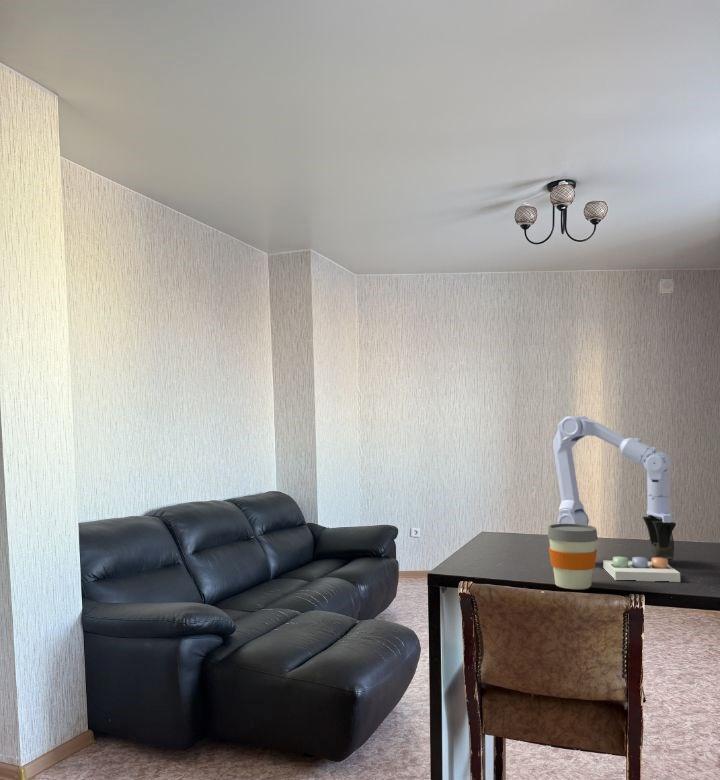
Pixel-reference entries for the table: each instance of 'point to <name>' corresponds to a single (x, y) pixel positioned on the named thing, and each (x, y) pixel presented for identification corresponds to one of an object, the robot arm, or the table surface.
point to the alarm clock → (664, 550)
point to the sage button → (620, 562)
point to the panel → (641, 573)
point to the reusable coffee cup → (572, 554)
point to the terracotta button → (659, 563)
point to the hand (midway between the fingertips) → (659, 544)
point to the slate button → (639, 562)
